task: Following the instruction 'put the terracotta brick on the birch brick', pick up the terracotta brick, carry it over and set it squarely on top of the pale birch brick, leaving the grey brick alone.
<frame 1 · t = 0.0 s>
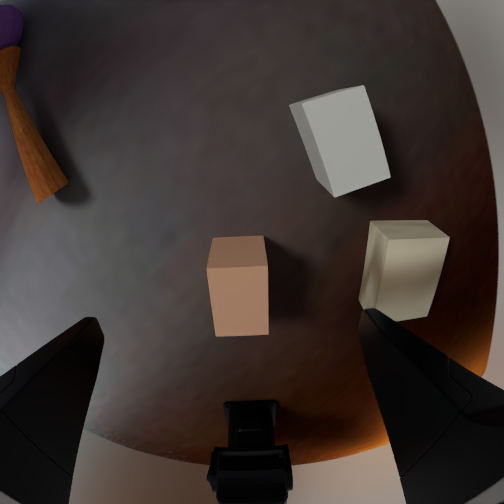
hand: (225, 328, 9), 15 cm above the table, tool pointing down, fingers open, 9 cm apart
birch brick: (392, 260, 25), on the table
grey brick: (327, 134, 20), on the table
kendama: (28, 93, 17), on the table
terracotta brick: (240, 268, 25), on the table
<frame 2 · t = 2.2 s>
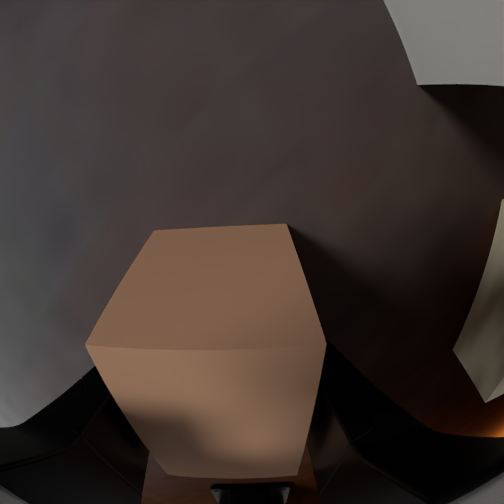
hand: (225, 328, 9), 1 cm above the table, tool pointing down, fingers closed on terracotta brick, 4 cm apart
terracotta brick: (226, 308, 10), on the table, touching gripper
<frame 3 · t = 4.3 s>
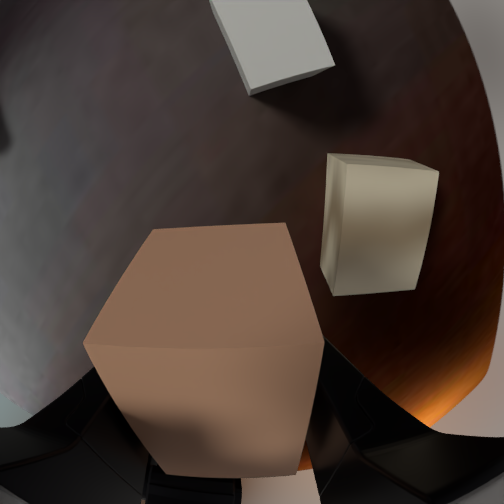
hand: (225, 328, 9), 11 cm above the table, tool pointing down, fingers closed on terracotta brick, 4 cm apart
birch brick: (364, 212, 20), on the table
grey brick: (262, 42, 14), on the table
terracotta brick: (225, 307, 10), point 10 cm above the table, touching gripper
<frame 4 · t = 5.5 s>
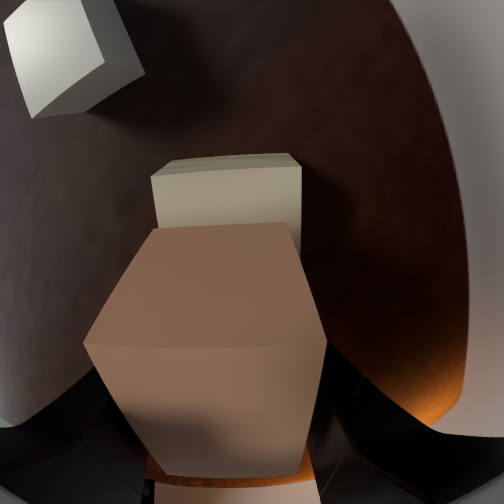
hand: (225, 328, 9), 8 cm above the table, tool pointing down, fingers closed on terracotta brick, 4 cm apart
birch brick: (234, 226, 17), on the table
grey brick: (96, 50, 12), on the table
terracotta brick: (226, 307, 10), point 7 cm above the table, touching gripper
when the fingers open (6 cm above the table, at t = 6.5 s): terracotta brick drops 2 cm, point 4 cm above the table.
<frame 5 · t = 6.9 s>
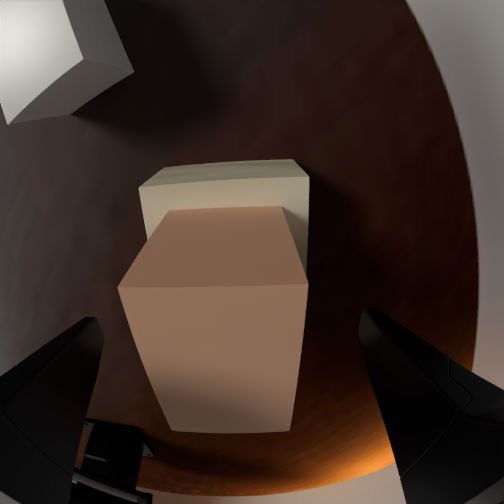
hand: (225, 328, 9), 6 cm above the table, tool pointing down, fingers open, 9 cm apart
birch brick: (233, 238, 15), on the table
grey brick: (82, 47, 10), on the table
terracotta brick: (228, 280, 12), point 4 cm above the table
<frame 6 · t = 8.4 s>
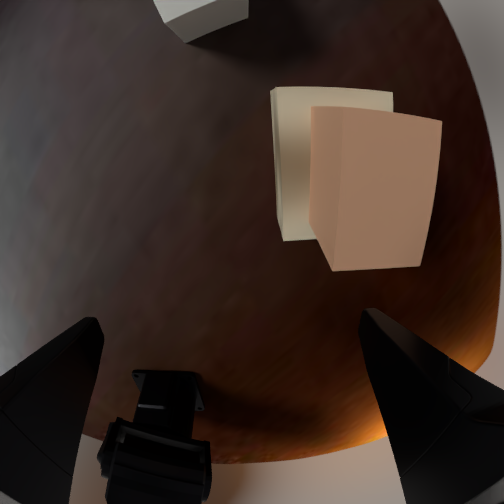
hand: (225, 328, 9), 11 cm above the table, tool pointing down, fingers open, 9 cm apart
birch brick: (321, 153, 18), on the table, touching terracotta brick
terracotta brick: (348, 166, 14), point 4 cm above the table, touching birch brick
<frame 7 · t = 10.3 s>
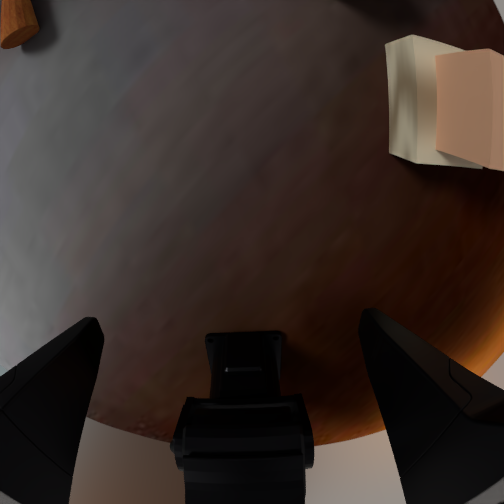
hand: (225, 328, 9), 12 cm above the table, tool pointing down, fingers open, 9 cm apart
birch brick: (422, 102, 17), on the table, touching terracotta brick
terracotta brick: (460, 107, 13), point 4 cm above the table, touching birch brick
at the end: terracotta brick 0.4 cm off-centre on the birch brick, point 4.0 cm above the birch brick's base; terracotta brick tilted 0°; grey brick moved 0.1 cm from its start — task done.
